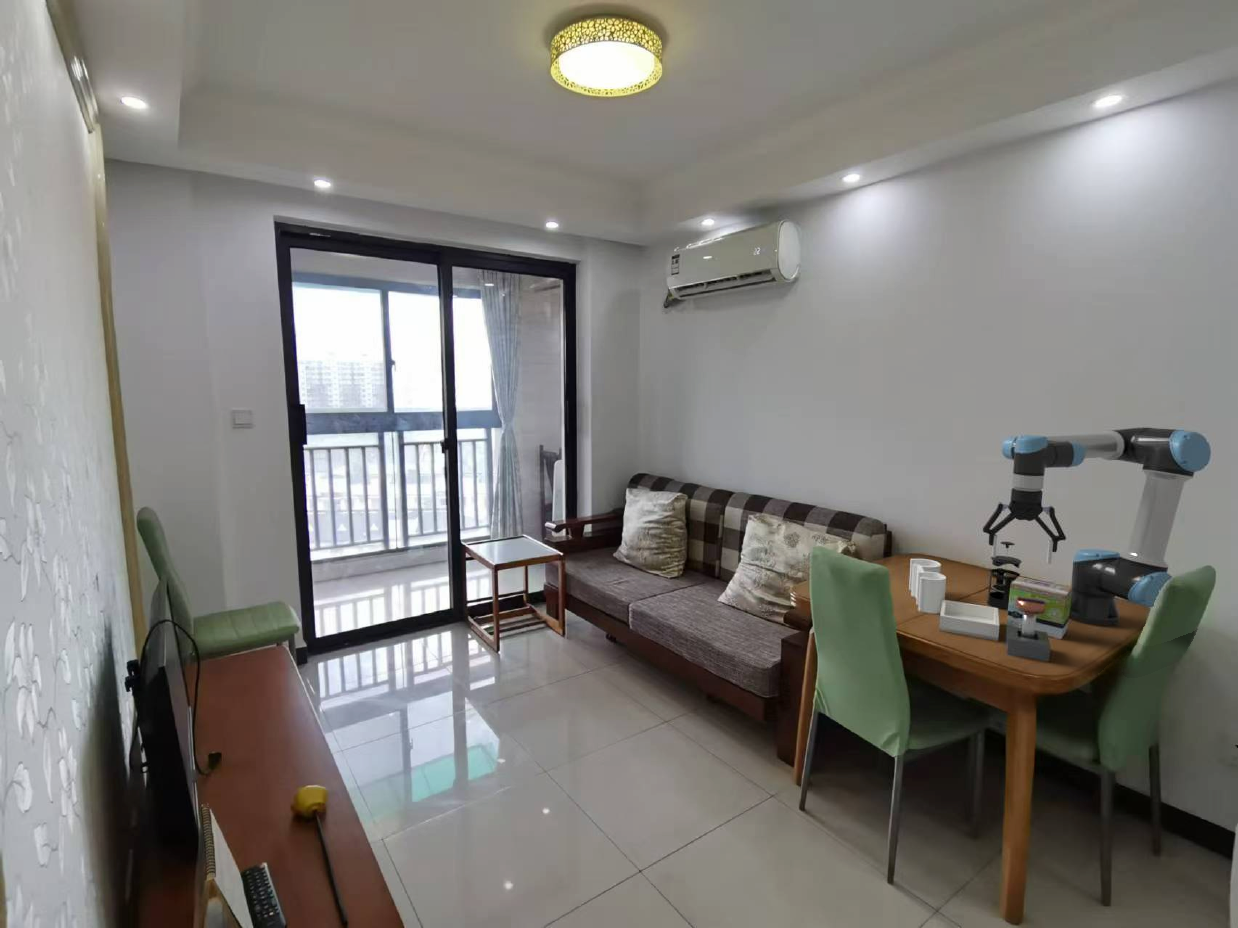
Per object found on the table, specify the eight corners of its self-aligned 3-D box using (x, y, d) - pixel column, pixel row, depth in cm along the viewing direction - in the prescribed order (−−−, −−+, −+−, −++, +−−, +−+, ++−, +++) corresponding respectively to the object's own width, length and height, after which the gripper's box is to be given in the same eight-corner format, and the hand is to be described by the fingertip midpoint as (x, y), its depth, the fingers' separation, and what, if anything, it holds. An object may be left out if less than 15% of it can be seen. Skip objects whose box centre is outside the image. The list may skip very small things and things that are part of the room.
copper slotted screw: (1039, 649, 178) (1044, 597, 176) (1041, 658, 172) (1046, 605, 170) (1011, 644, 181) (1016, 593, 179) (1012, 653, 175) (1017, 600, 173)
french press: (1022, 612, 205) (1028, 547, 202) (991, 609, 208) (996, 545, 205) (1012, 600, 216) (1017, 538, 213) (982, 597, 219) (987, 536, 216)
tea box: (1005, 626, 194) (1009, 582, 192) (1013, 617, 201) (1017, 575, 199) (1062, 640, 184) (1066, 594, 182) (1068, 630, 191) (1073, 586, 189)
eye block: (1045, 648, 178) (1046, 632, 178) (1048, 662, 170) (1050, 645, 169) (1005, 641, 183) (1006, 625, 183) (1006, 654, 175) (1008, 638, 174)
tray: (996, 622, 197) (997, 608, 196) (998, 641, 184) (999, 625, 183) (941, 613, 205) (942, 599, 205) (939, 630, 192) (940, 615, 191)
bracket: (948, 615, 204) (950, 581, 202) (916, 611, 207) (918, 578, 205) (936, 590, 227) (938, 559, 226) (908, 587, 231) (910, 557, 229)
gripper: (1077, 489, 171) (1070, 561, 174) (976, 483, 183) (971, 550, 186) (1083, 494, 164) (1075, 568, 167) (977, 487, 176) (972, 556, 179)
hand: (1020, 559), depth 177 cm, fingers open, 13 cm apart
